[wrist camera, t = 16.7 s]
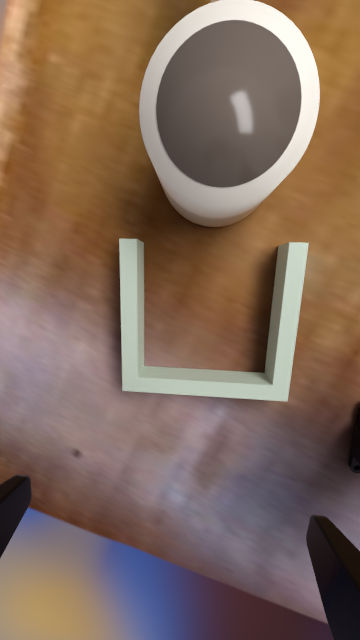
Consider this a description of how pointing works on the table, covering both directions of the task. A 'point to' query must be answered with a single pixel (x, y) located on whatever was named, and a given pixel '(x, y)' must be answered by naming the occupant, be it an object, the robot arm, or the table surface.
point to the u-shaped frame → (203, 380)
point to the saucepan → (228, 108)
